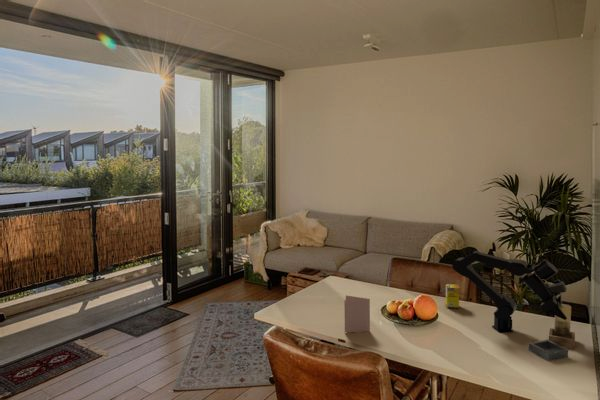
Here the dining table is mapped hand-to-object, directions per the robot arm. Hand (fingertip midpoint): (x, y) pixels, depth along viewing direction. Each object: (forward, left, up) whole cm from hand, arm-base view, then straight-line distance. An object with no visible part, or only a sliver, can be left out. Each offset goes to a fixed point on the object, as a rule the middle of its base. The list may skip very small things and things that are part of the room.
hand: (566, 316), depth 178 cm
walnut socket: (-1, +1, -11) cm, 11 cm away
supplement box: (-28, +46, -11) cm, 55 cm away
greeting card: (-83, +22, -11) cm, 87 cm away
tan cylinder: (-1, +1, -7) cm, 7 cm away
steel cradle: (-13, -8, -11) cm, 19 cm away
